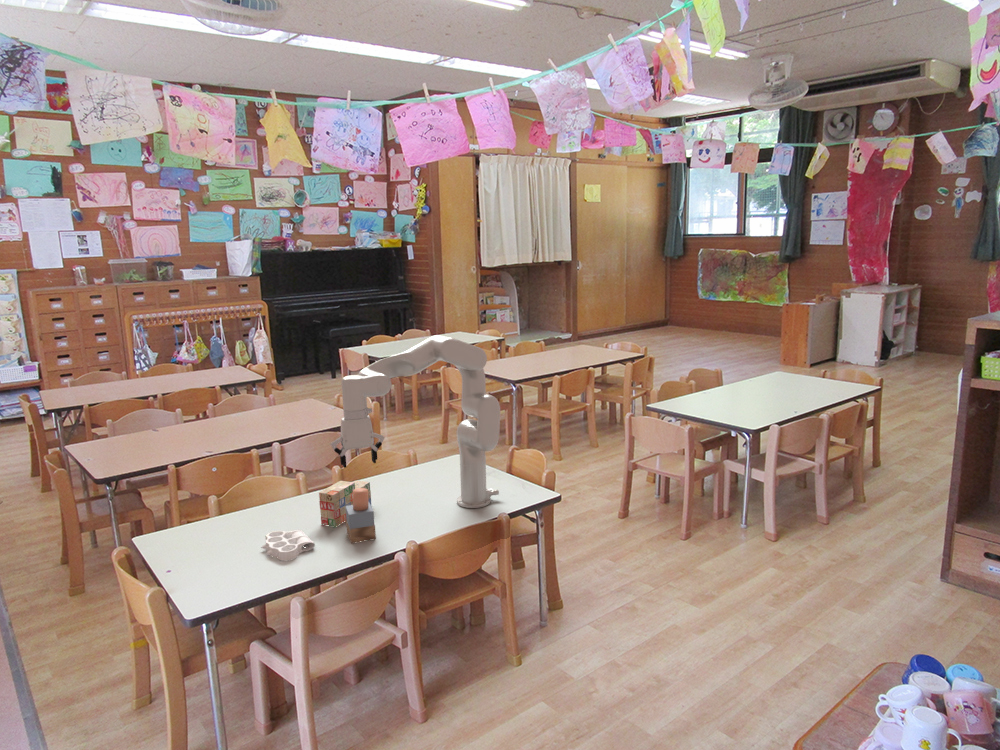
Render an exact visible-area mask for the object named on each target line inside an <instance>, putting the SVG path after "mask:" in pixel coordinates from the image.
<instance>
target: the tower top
mask: <svg viewBox="0 0 1000 750" xmlns="http://www.w3.org/2000/svg"><path fill="white" fill-rule="evenodd" d="M345 507H346V520H347V523H348V526H349V528H350V529H355V528H361V527H367V526H374V524H375V512H374V509H373V506H372V504H371V505H370V503H368V509H366V510H363V511H357V510H354V509H353V505H349V506H345Z"/></svg>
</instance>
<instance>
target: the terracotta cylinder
mask: <svg viewBox="0 0 1000 750" xmlns="http://www.w3.org/2000/svg"><path fill="white" fill-rule="evenodd" d="M353 509H354V510H357V511H363V510H366V509H368V489H365V488H357V489H354V490H353Z"/></svg>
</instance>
